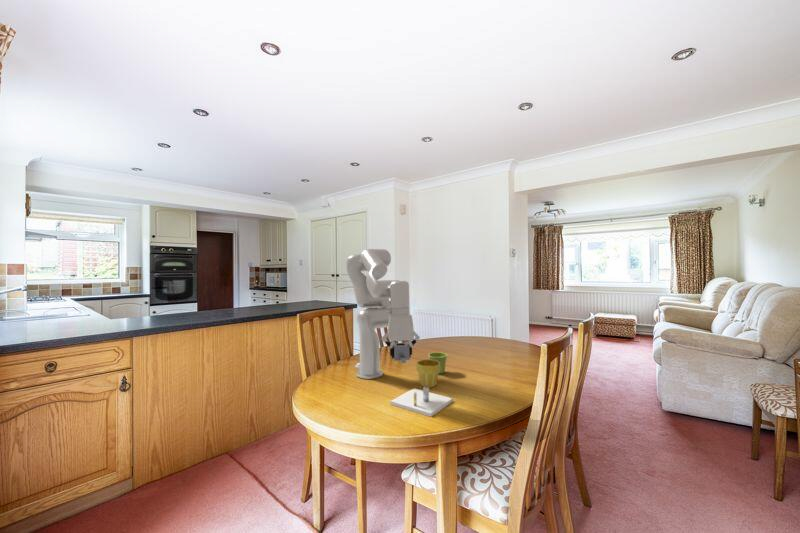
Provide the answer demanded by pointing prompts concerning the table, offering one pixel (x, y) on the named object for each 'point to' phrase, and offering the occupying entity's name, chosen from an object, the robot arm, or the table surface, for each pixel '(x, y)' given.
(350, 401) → the table surface
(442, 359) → the plant pot
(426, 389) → the steel post
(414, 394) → the brass dowel
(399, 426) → the table surface
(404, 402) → the board
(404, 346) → the grey socket block
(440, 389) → the table surface
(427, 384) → the plant pot
